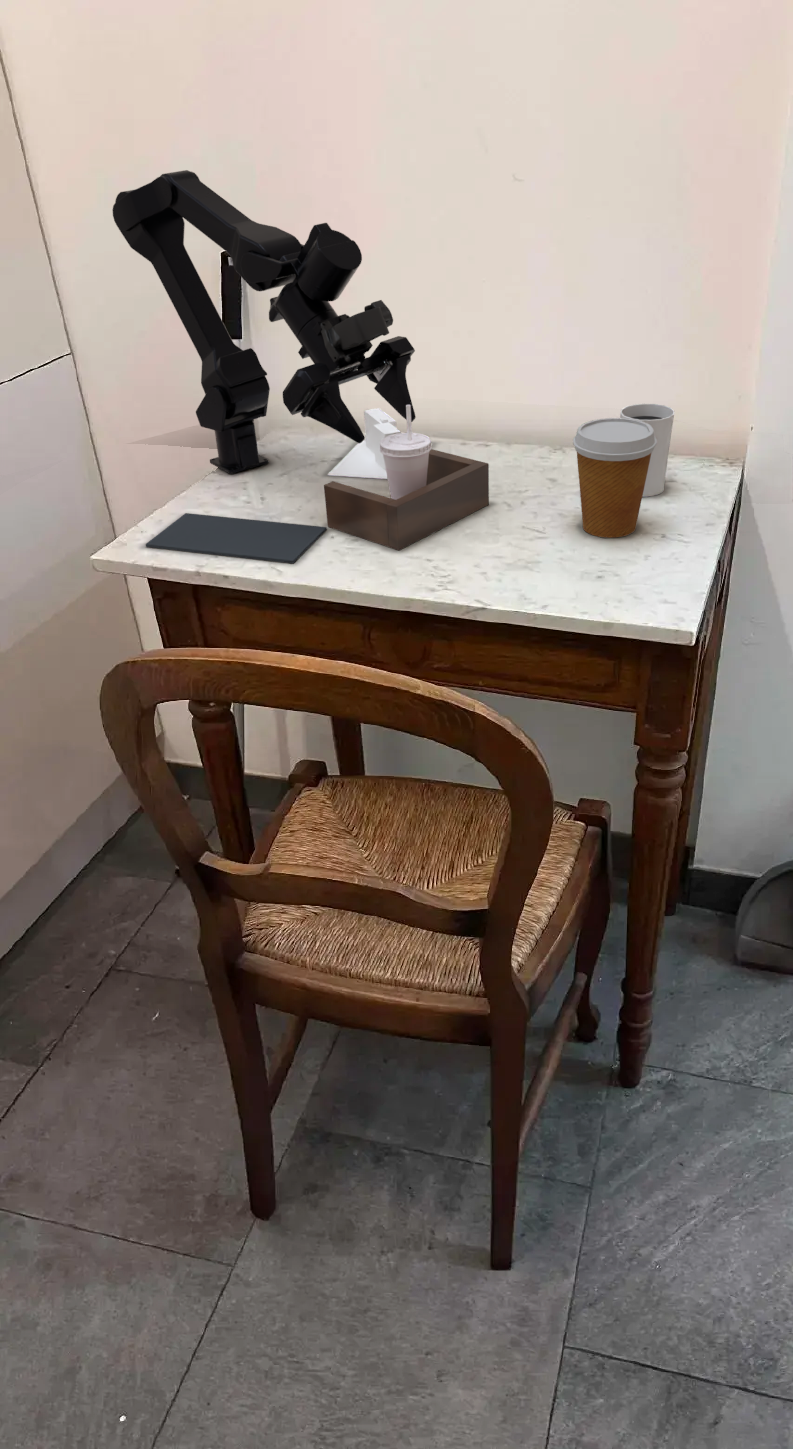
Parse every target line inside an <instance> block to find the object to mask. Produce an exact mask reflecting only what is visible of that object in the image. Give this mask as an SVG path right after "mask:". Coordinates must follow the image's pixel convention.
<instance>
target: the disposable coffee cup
mask: <svg viewBox="0 0 793 1449" xmlns="http://www.w3.org/2000/svg"><path fill="white" fill-rule="evenodd" d="M656 443H657V439H656V438H655V436H654V431H653V428H652V426H650V425H649V424H647V423H645V422H642V421H639V420H634V419H627V418H620V417H605V418H604V417H603V418H597V419H592V420H589V421H588V420H587V421H586V422H584V423H582V424H580V425H579V426H578V428H577V429H576V433H575V436H574V437H573V438H572V445H573V446H574V449H575V452H576V459H577V472H578V483H579V484H578V485H579V498H580V507H581V521H582V529H583V530H584V531H585V532H586V533H587V534H589V535H591V536H595V537H599V538H607V539H608V538H611V539H612V538H621V537H626V536H628V535H631V534H632V533H634V532H635V531H636V529H637V523H638V519H639V515H640V510H641V505H642V499H643V497H642V495H643V491H644V486H645V481H646V477H647V472H648V467H649V462H650V457H651V453H652V452H653V450H654V447H655V446H656Z"/></svg>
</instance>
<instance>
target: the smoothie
mask: <svg viewBox="0 0 793 1449" xmlns="http://www.w3.org/2000/svg"><path fill="white" fill-rule="evenodd" d="M406 417H407V420H406V432H401V433H398V434H393V435H389V436H387V437H385V438H383V439H382V440H381V441H380V452H381V453H382V454H383V457H384V463H385V468H386V473H387V479H386V480H387V483H388V484H387V485H388V488H389V494H390V498H391V499H395V500H396V499H399V498H401V497H403V496H405V495H407V494H409V493H411V492H414V491H416V490H418V489H420V488H422V487H424V486H426V481H427V470H428V459H429V451H430V450H431V449H433V446H432V445H431V444H432V439H431V437H429V436H428V435H426V434H423V433H419V432H413V427H412V422H411V405H406Z"/></svg>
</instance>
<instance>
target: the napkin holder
mask: <svg viewBox="0 0 793 1449" xmlns="http://www.w3.org/2000/svg"><path fill="white" fill-rule="evenodd" d="M363 418H364V420H363V421H364V433H365V434H364V437H365V439H364V440H363V442H362V443H357V444H356V445H355V446H353V448H352V449H351V450H350V451H349V452H348V453H347V454H346V455H345V456H344V457H343V458H342V459H341V460H340V461H339V462H338V463H337V464H336V465H335V466H334V467H333V468H332V469H331V471H329V472H328V473H327V474H326V475H327V476H333V477H334V476H335V477H347V478H348V477H350V478H365V479H382V480H388V479H387V473H386V468H385V463H384V457H383V454H382V453H381V452H380V441H381V440H382V439H383V438H385V437H387V436H389V435H393V434H398V433H402V431H401V430H400V429H398V428H397V427H398V426H397V425H398V424H397V420H396V419H394V417H392V416H390V415H389V414H388V413H386V412H385V411H384V410H382V409H381V408H380V407H377V408H371V409H365V410H363ZM432 445H433V443H431V446H432Z"/></svg>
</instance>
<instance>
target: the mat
mask: <svg viewBox="0 0 793 1449" xmlns="http://www.w3.org/2000/svg"><path fill="white" fill-rule="evenodd" d="M327 530H328V526H319V525H308V524H298V523H290V522H289V523H288V522H279V521H270V520H269V521H268V520H259V519H249V518H248V519H247V518H240V517H239V518H238V517H231V516H230V517H228V516H219V515H211V514H210V515H209V514H198V513H191V512H190V513H189V512H185V513H184V514H183V515H181V516H180V517H179V518H177V519H176V520H175V521H173V522H172V523H171V524H170V525H169V526H167V527H166V528H164V529H163V530H162V531H161V532H160V533H158V534H156V535H154V537H153V538H151V539H150V540H149V541H147V542H146V543H145V548H152V549H161V550H167V551H168V550H169V551H179V552H186V553H187V552H188V553H196V554H203V555H204V554H205V555H213V556H222V557H224V556H225V557H231V558H232V557H233V558H240V559H250V560H257V561H258V560H259V561H266V562H275V563H276V562H277V563H285V564H295V563H296V561H298V560H299V559H300V558H301V557H302V556H303V555H304V554H305V553H306V552H307V551H308V550H309V548H311V547H312V546H313V545H314V544H315V542H317V540H319V539H320V538H321V537H322V536H323V535H324V533H325V532H326V531H327Z"/></svg>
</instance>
